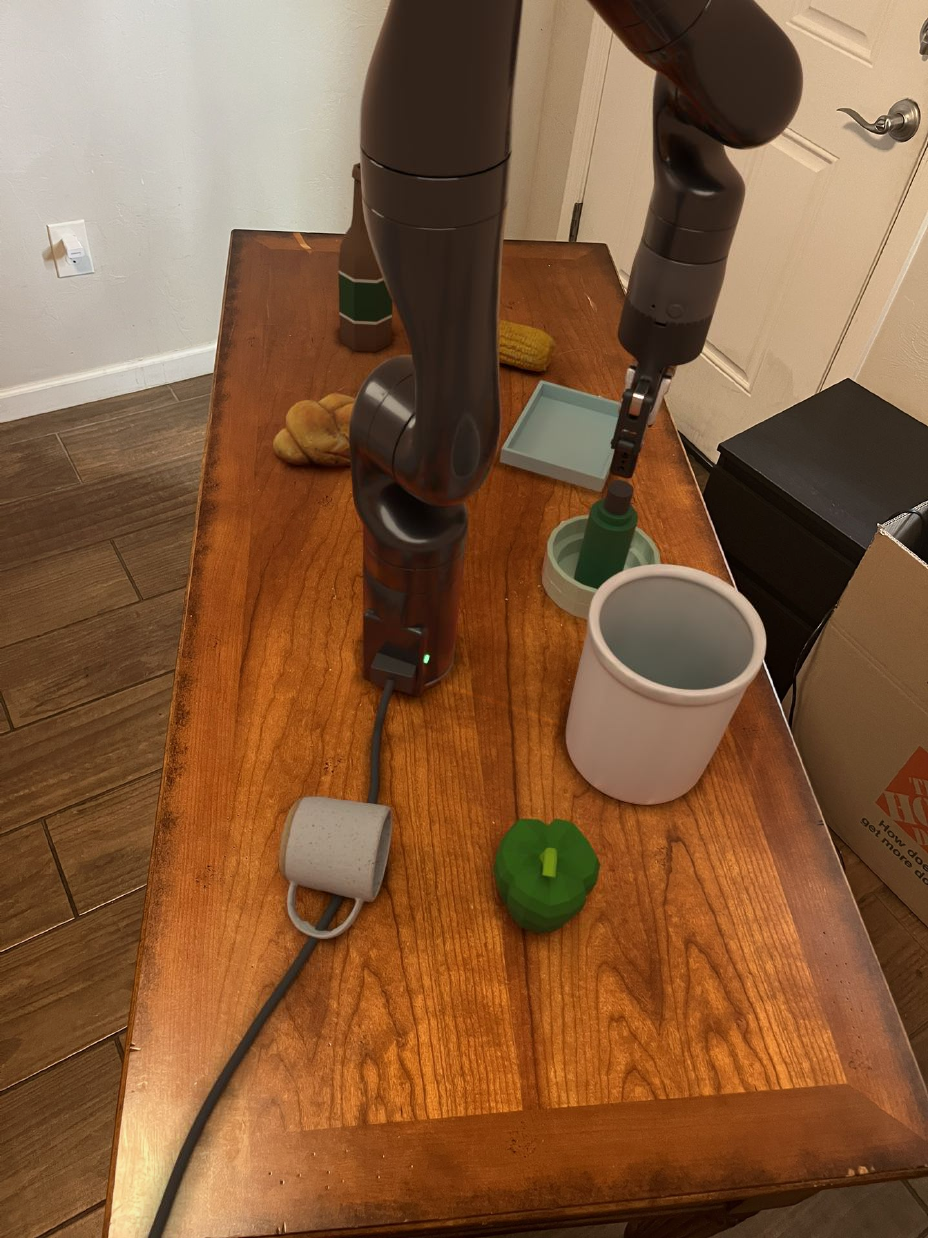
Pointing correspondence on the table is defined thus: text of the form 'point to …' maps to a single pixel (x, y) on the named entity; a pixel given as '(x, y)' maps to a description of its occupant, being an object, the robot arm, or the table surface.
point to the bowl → (565, 557)
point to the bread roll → (317, 432)
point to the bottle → (607, 536)
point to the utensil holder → (659, 680)
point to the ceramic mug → (334, 852)
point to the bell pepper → (544, 873)
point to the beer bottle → (362, 285)
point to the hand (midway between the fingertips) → (631, 448)
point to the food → (525, 346)
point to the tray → (564, 436)
